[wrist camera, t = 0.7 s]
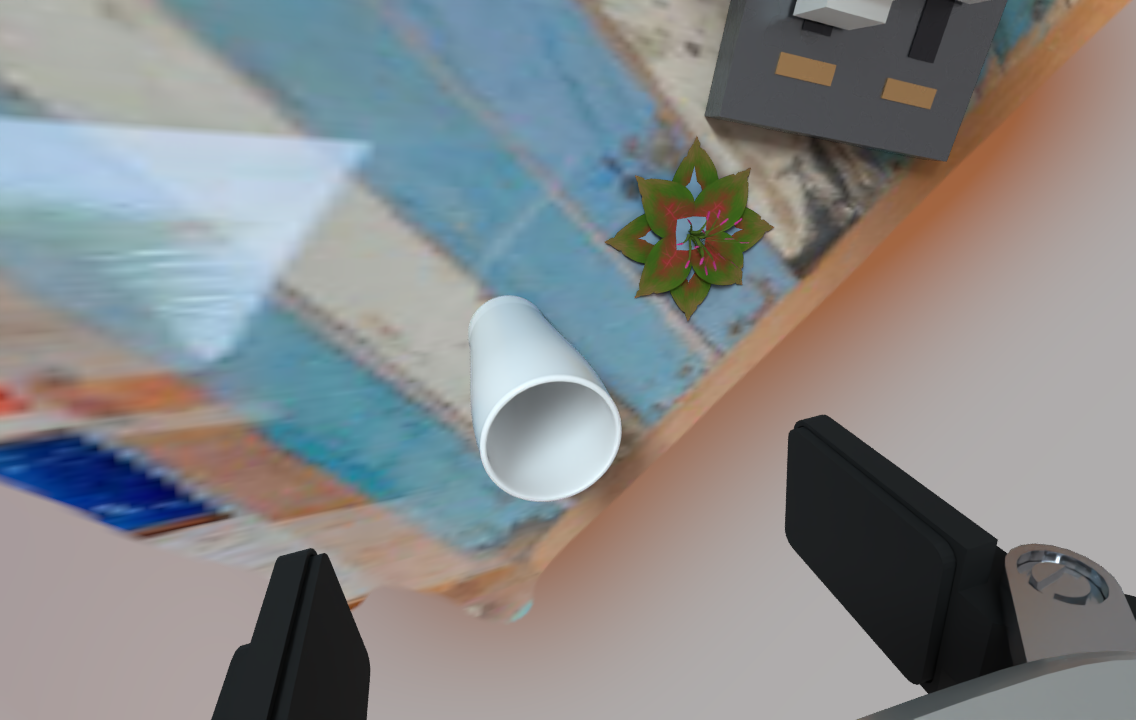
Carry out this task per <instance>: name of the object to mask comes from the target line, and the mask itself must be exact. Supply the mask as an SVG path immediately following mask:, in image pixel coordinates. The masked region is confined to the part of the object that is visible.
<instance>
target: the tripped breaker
mask: <svg viewBox="0 0 1136 720" xmlns="http://www.w3.org/2000/svg"><path fill="white" fill-rule="evenodd" d="M958 1H961V2H965V3H968V4H974V3H979V2H984V1H989V0H958Z"/></svg>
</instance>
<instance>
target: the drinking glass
mask: <svg viewBox="0 0 1136 720" xmlns="http://www.w3.org/2000/svg"><path fill="white" fill-rule="evenodd" d="M468 341H469V346H470V402H471V415H472V422H473V428H474V433H475V438H476V442H477V445H478V449H479V452H480V455H481V460H482V463H483V466H484V468H485V470H486V472H487V474H488V475H489V477H490V478H491V479H492V481H493V482H494V483H495V484H496V485H497V486H498V487H500V488H501V489H502V490H504V491H505V492H507V493H509V494H510V495H512V496H515V497H517V498H520V499H524V500H528V501H536V502H548V501H556V500H561V499H565V498H568V497H571V496H573V495H576V494H578V493H580V492H582V491H583V490H585V489H587V488H588V487H590V486H591V485H593V484H594V483H595V482H596V481H597V480H599V479H600V478H601V477H602V476H603V474H604V473H605V472H606V471H607V470H608V468H609V467H610V466H611V464H612V462H613V461H614V459H615V457H616V455H617V452H618V450H619V446H620V442H621V436H622V424H621V418H620V415H619V411H618V409H617V407H616V405H615V403H614V401H613V400H612V398H611V396H610V394H609V392H608V391H607V389H606V387H605V385H604V384H603V382H602V381H601V379H600V378H599V376H598V375H597V373H596V372H595V371H594V369H593V368H592V367H591V365H590V364H589V363H588V362H587V361H586V359H585V358H584V357H583V356H582V355H581V354H580V353H579V352H578V351H577V350H576V349H575V348H574V347H573V346H572V345H571V344H570V343H569V342H568V341H567V340H566V339H565V338H564V337H563V336H562V335H561V334H560V333H559V332H558V331H557V330H556V329H555V328H554V327H553V326H552V325H551V324H550V323H549V322H548V321H547V320H546V319H545V317H544V316H543V314H542V313H541V312H540V310H539V309H538V308H537V307H536V306H535V305H534V304H533V303H531V302H530V301H528V300H526V299H524V298H521V297H518V296H510V295H507V296H500V297H496V298H493V299H491V300H489V301H487V302H486V303H484V304H483V305H482V306H481V307H479V309H478V310H477V311H476V312H475V314H474V315H473V317H472V319H471V321H470V324H469V329H468Z"/></svg>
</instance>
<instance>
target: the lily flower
mask: <svg viewBox="0 0 1136 720" xmlns="http://www.w3.org/2000/svg"><path fill="white" fill-rule="evenodd" d="M694 166H695V171H696V177H697V182H698V183H699V184H700V185H701V188H702V192H701V193H700V194H699V195H698V197H697V198H696V200H695V202H694V198H693V196H692V194H691V192H690V191H689V190H688V189H687V188H686V186H687V185H688V184H689V183H690V180H691V176H692V173H693V169H694ZM750 169H751V168H749V169H747V170H746V171H742V172H738V173H737V174H736V175H734V174H732V175H729V176H726V177H724V178H721V179H719V180H718V175H717V171H716V168H715V166H714V164H713V162H712V160H711V159H710V157H709V156H708V154H707V153H706V151H705V150H703V149H702V148H700V142H699V140H698V137H696V139H695V142H694V144H693V145H692V147H691V148H690V150H689V151H688V156H687V157H685V158H684V159H683V161H682V162H681V164H680V166H679V168H678V170H677V171H676V174H675V176H674V178H673V180H672V181H668V180H661V179H647V180H645V179H644V178H642V177H639V176H636V175H635V177H636V179H637V182H638V186H639V190H640V194H641V195H642V204H643V208H644V211H645V214H643V215H641V216H639V217H638V218H636V219H634V220H633V221H632V222H630V223H629V224H628V225H626V226H625V227H624V228H623V229H621V230H620V231H619V232H618V233H617V234H616V236H615V237H614V238H611V239H609V240H607V241H605V243H607V244H610V245H611V246H613V247H614V248H616V249H617V250H622V253H623V254H624V255H626V256H627V257H629V258H630V259H632V260H634V261H637V262H640V263H645V266H644V269H643V272H642V276H641V279H640V283H639V291H637V294H636V296H635V298H637V297H639V296H644V295H650V294H652V293H653V292H654V293H656V294H657V293H662V292H667V291H669V290H670V293H671V295H672V297H673V299H674V300H675V302H676V304H677V305H678V306H679V308H680V309H681V310H682V311H684V312H685V313H686V314H685V316H686V318H687V320H689V318H690V316H691V315H692V314H693V312H694V311H695V310H696V309H697V305H698V304H701V303H702V301H703V300H704V299H705V297H706V296H707V294H708V291H709V289H710V286H711V284H715V285H732V284H734V283H735V282H736V284H740V285H742V280H741V279H742V271H741V268H743V254H742V252H744V251H746V250H747V249H749V248H751V247H752V246H753V245H754V244H756V243H757V242H758V241H759V240H760V239H761V238H762V237H763V235H764V233H765V231H769V230H771V229H772V228H774V227H773V226H771V225H769V224H768V223H767V222H766V221H765V220H761V216H759V215H758V214H757V213H756V212H754V211H752V210H750V209H748V208H746V204H747V198H748V182H747V177H748V176H749V173H750ZM692 216H699V217H706V223H705V224H704V225H703V227H702V228H701V229H700V230H698V231H692V224H691V222H690V221H689V220H688V219H687V220H688V222H689V223H690V225H691V226H690V227H691V228H690V231H689V232H690V234H686V235H687V238H686V240H685V241H684V242H683V243H679V244H677V245H682V244H684V243H685V242H686V241H687V240H688V239H689V250H688V251H684V250H676V225H677V219H682V218H687V217H692ZM705 225H706V231H705V232H704V231H703V228H704V227H705ZM733 225H734V226H735V227H736V228H740V229H743V230H740V231H738V232H735V233H734V234H733V235H732V236H731V235H729V234H727V233H725V232H724V231H726V230H728V229H730V228H731V227H732V226H733ZM651 230H652V231H653V232H654V233H655V234H657V235H658V236H660V237H663V238H662V239H661V240H660V241H658V242H657V243H656V244H655V246H654V245H652V244H650V243H648V242H647V241H646V240H642V239H638V238H641V237H643V236H645V235H646V234H647V233H648V232H649V231H651ZM701 231H703V232H701ZM705 238H706V240H705V241H704V240H703V241H704V242H705V246H704V245H703V244H702V242H703V241H702V239H705ZM700 239H701V241H702V242H701V241H700ZM691 240H692V241H693V242H694V244H695V246H696V247H694V248H697V249H693V250H691V248H692V246H691ZM695 242H696V243H695ZM696 244H697V245H696ZM698 247H699V248H698ZM702 247H703V248H702ZM691 266H692V267H693V269H694V271H695V273H694V275H693V276H692V278H691V279H690V281H689V283H688V280H687V279H686V278H687V276H688V274H689V272H690V270H691Z"/></svg>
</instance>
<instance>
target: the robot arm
mask: <svg viewBox="0 0 1136 720" xmlns="http://www.w3.org/2000/svg"><path fill="white" fill-rule="evenodd" d="M787 460H788V461H787V487H786V514H785V516H786V517H785V533H786V537H787V539H788V542H789V543H790V545H791V546H792V548H793V549H794V550H795V551H796V552H797V554H798V555H799V556H800V557H801V558H802V559H803V560H804V562H805V563H806V564H807V565H808V566H809V567H810V569H811V570H812V571H813V572H814V573H815V574H816V575H817V576H818V578H819V579H820V580H821V581H822V582H823V583H824V585H825V586H826V587H827V588H828V589H829V590H830V591H831V593H832V594H833V595H834V596H835V597H836V598H837V599H838V601H839V602H840V603H841V604H842V605H843V606H844V607H845V609H846V610H847V611H848V612H849V613H850V614H851V615H852V617H853V618H854V619H855V620H856V621H857V622H858V624H859V625H860V626H861V627H862V628H863V629H864V630H865V632H866V633H867V634H868V635H869V636H870V637H871V639H873V641H874V642H875V643H876V644H877V645H878V647H879V648H880V649H881V650H882V651H883V652H884V653H885V655H886V656H887V657H888V658H889V659H890V660H891V661H892V663H893V664H894V665H895V666H896V667H897V668H898V670H899V671H900V672H901V673H902V674H903V675H904V676H905V677H906V678H907V679H908V680H909V681H910V682H912V683H913V684H916V685H918V684H920V685H921V686H922V687H923V688H924V689H925V691H926V692H927V693H928V694H927V695H924V696H921V697H918V698H916V699H913V700H910V701H907V702H905V703H902V704H899V705H896V706H893V707H891V708H888V709H885V710H882V711H879V712H876V713H874V714H871V715H868V716H865V717H862V718H860V719H857V720H1136V597H1134V596H1130V595H1126V594H1124V593H1123V591H1122V588H1121V587H1120V585H1119V584H1118V582H1117V581H1116V579H1115V578H1114V577H1113V576H1112V575H1111V574H1110V573H1109V572H1108V571H1106V570H1105V569H1104V568H1103V567H1102V566H1100V565H1099V564H1097V563H1095V562H1094V561H1092V560H1090V559H1089V558H1087V557H1085V556H1083V555H1080V554H1078V553H1075V552H1073V551H1071V550H1068V549H1064V548H1060V547H1056V546H1053V545H1045V544H1026V545H1020V546H1018V547H1015V548H1013V549H1011V550H1010V551H1009V553H1008V554H1007V553H1006V552H1005V551H1003V550H1002V549H1000V548H999V547H998V546H996V545H997V541H998V540H997V539H996V538H995V537H993V536H992V535H991V534H989V533H988V532H986V531H985V530H984V529H982V528H981V527H980V526H978V525H976V523H974V522H973V521H971V520H970V519H969V518H967V517H966V516H964V515H963V514H961V513H960V512H959V511H958V510H956V509H955V508H954V507H952V506H951V505H949V504H948V503H947V502H945V501H944V500H943V499H941V498H940V497H939V496H937V495H936V494H934V493H933V492H932V491H930V490H929V489H927V488H926V487H925V486H923V485H922V484H921V483H919V482H918V481H917V480H915V479H914V478H912V477H911V476H910V475H908V474H907V473H906V472H904V471H903V470H901V469H900V468H899V467H897V466H896V465H895V464H893V463H892V462H891V461H889V460H888V459H886V458H885V457H884V456H882V455H881V454H880V453H878V452H877V451H875V450H874V449H873V448H871V447H870V446H869V445H867V444H866V443H864V442H863V441H862V440H860V439H859V438H857V437H856V436H855V435H854V434H852V433H851V432H849V431H848V430H847V429H845V428H844V427H842V426H841V425H840V424H838V423H837V422H836V421H834V420H833V419H831V418H830V417H828V416H827V415H819V416H816V417H811V418H808V419H804V420H800V421H798V422H796V424H795V426H794V429H793V430H791V431H790V433H789V436H788V459H787ZM369 682H370V662H369V657H368V653H367V651H366V648H365V646H364V643H363V640H362V638H361V636H360V633H359V631H358V628H357V626H356V623H355V621H354V619H353V616H352V613H351V611H350V608H349V606H348V604H347V601H346V599H345V596H344V594H343V591H342V589H341V586H340V584H339V581H338V579H337V576H336V574H335V572H334V569H333V567H332V564H331V562H330V559H329V557H328V555H327V554H326V553H323V554H319V555H317V553H316V551H315V550H314V549H312V548H310V549H306V550H302V551H298V552H295V553H291V554H287V555H283V556H280V557H279V558H277V560H276V563H275V566H274V569H273V572H272V575H271V579H270V582H269V585H268V588H267V591H266V595H265V598H264V601H263V604H262V607H261V611H260V614H259V617H258V620H257V623H256V627H255V630H254V633H253V636H252V640H251V643H249V644H246V645H242V646H240V647H239V648H238V649H237V650H236V651H235V654H234V656H233V658H232V660H231V663H230V666H229V669H228V672H227V675H226V678H225V681H224V684H223V687H222V690H221V693H220V696H219V698H218V702H217V704H216V707H215V711H214V714H213V716H212V719H211V720H367V707H368V694H369Z"/></svg>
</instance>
